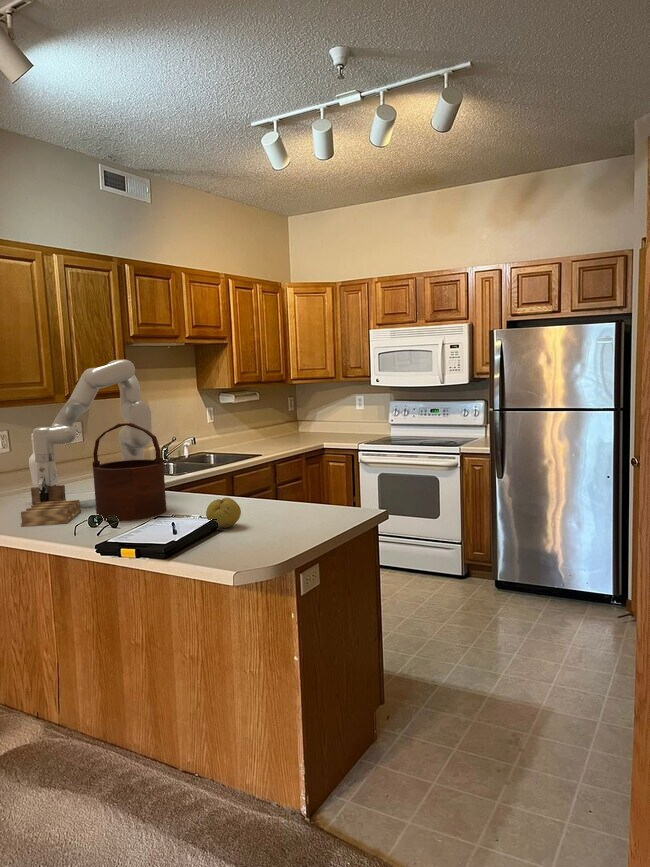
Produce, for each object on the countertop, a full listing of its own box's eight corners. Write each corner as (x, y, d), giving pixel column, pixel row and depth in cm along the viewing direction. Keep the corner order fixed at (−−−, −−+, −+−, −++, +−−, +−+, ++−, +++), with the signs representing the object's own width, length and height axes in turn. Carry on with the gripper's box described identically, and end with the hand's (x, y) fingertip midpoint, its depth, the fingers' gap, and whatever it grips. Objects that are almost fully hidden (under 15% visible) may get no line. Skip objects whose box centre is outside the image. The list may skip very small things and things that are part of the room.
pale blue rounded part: (109, 501, 263) (109, 498, 263) (102, 507, 251) (102, 504, 251) (80, 503, 261) (80, 500, 261) (72, 509, 250) (71, 506, 249)
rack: (81, 512, 241) (80, 499, 241) (67, 523, 223) (66, 509, 223) (38, 515, 240) (37, 502, 239) (21, 526, 222) (20, 512, 221)
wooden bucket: (106, 508, 248) (100, 422, 245) (171, 504, 251) (166, 419, 247) (88, 523, 223) (80, 427, 219) (160, 519, 225) (154, 424, 221)
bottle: (45, 504, 261) (37, 434, 256) (29, 503, 263) (20, 434, 258) (57, 499, 268) (50, 431, 264) (41, 498, 270) (34, 431, 266)
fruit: (222, 522, 217) (220, 494, 216) (248, 525, 211) (247, 496, 210) (200, 529, 207) (199, 500, 206) (228, 533, 201) (226, 503, 200)
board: (66, 509, 249) (64, 485, 248) (64, 510, 246) (62, 486, 245) (35, 511, 247) (33, 486, 246) (33, 512, 245) (30, 488, 244)
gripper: (48, 460, 236) (51, 504, 238) (62, 454, 253) (65, 495, 255) (27, 461, 236) (31, 505, 237) (43, 455, 253) (46, 496, 254)
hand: (49, 500), depth 246 cm, fingers open, 9 cm apart
